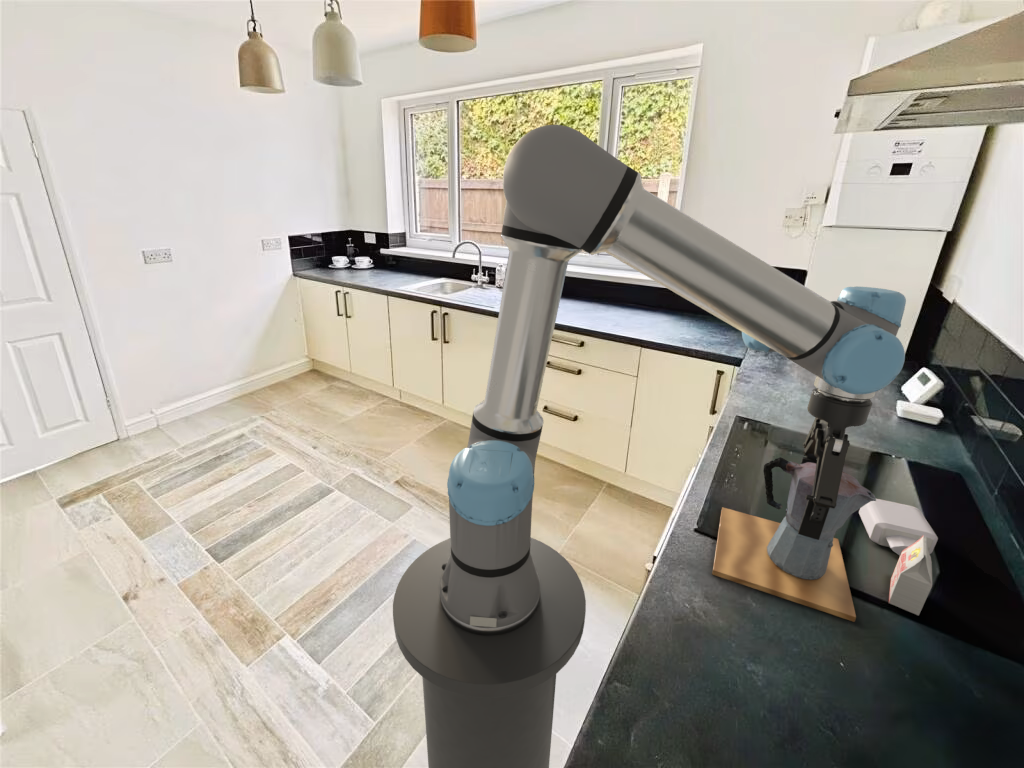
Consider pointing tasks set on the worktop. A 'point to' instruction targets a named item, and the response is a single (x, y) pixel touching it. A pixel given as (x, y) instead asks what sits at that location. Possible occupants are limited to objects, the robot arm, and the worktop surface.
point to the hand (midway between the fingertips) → (804, 512)
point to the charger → (896, 525)
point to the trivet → (751, 566)
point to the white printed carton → (912, 578)
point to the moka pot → (786, 544)
